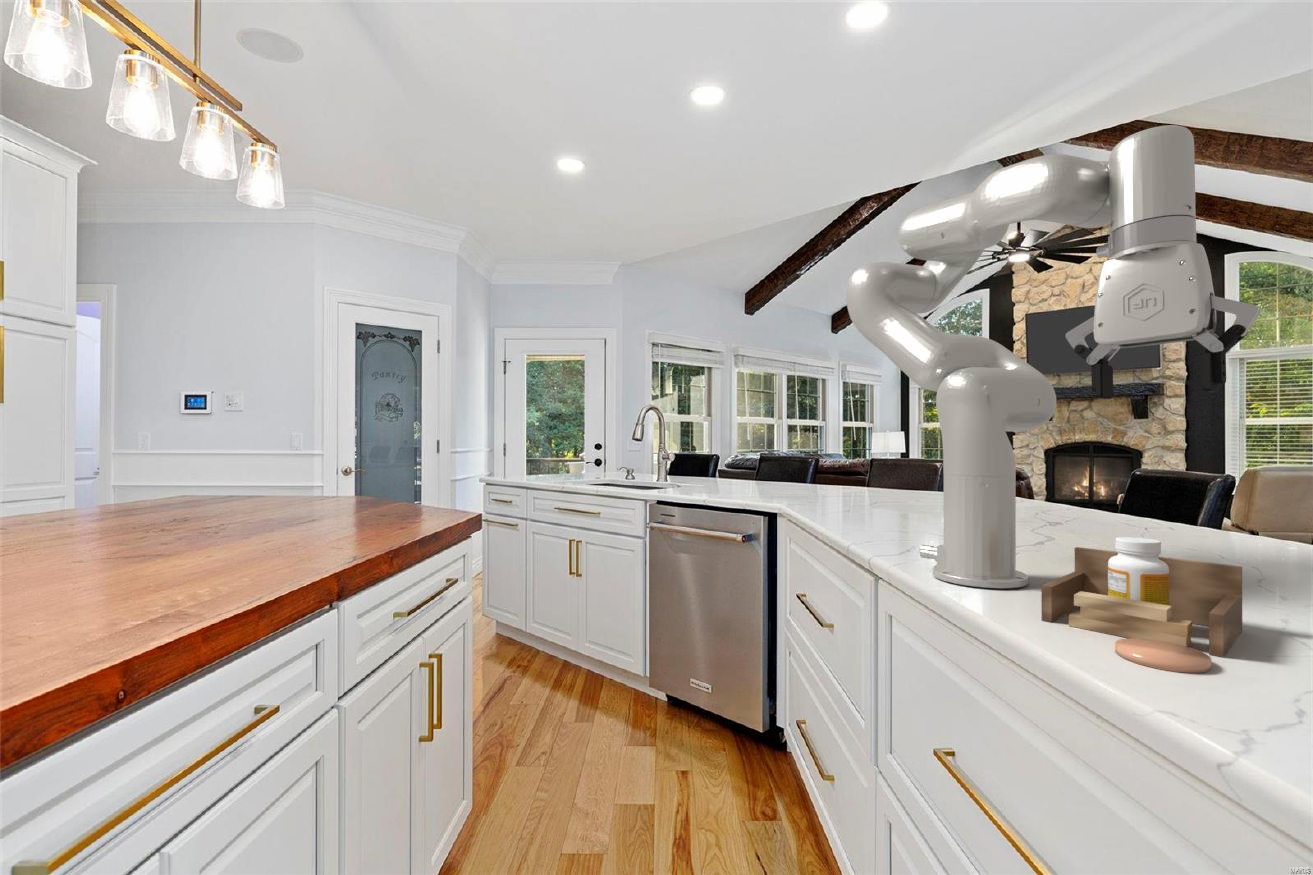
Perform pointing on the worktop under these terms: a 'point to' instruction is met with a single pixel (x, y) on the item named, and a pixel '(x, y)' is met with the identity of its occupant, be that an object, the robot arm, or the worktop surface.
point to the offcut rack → (1192, 600)
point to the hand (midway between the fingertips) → (1154, 395)
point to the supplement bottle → (1138, 571)
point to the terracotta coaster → (1163, 655)
